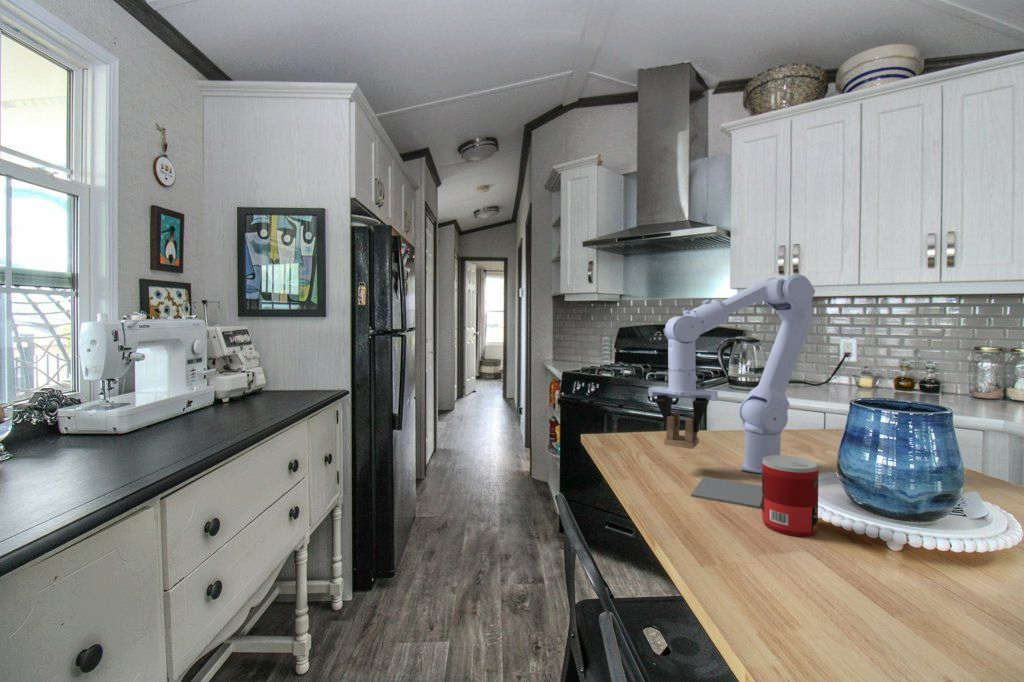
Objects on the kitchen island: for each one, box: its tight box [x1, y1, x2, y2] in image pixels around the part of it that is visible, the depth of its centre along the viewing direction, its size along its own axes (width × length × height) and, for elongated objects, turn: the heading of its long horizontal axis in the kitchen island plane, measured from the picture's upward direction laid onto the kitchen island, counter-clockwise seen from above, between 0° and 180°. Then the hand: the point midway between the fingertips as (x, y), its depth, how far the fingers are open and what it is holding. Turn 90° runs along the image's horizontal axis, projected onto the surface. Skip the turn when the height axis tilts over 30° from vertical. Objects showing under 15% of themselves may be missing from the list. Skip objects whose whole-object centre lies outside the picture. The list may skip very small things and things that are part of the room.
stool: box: [664, 412, 700, 450], centre depth 107 cm, size 6×6×6 cm
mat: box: [690, 476, 762, 509], centre depth 95 cm, size 12×12×1 cm
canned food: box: [761, 454, 819, 537], centre depth 79 cm, size 8×8×11 cm
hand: (682, 430), depth 107 cm, fingers closed on stool, 5 cm apart
